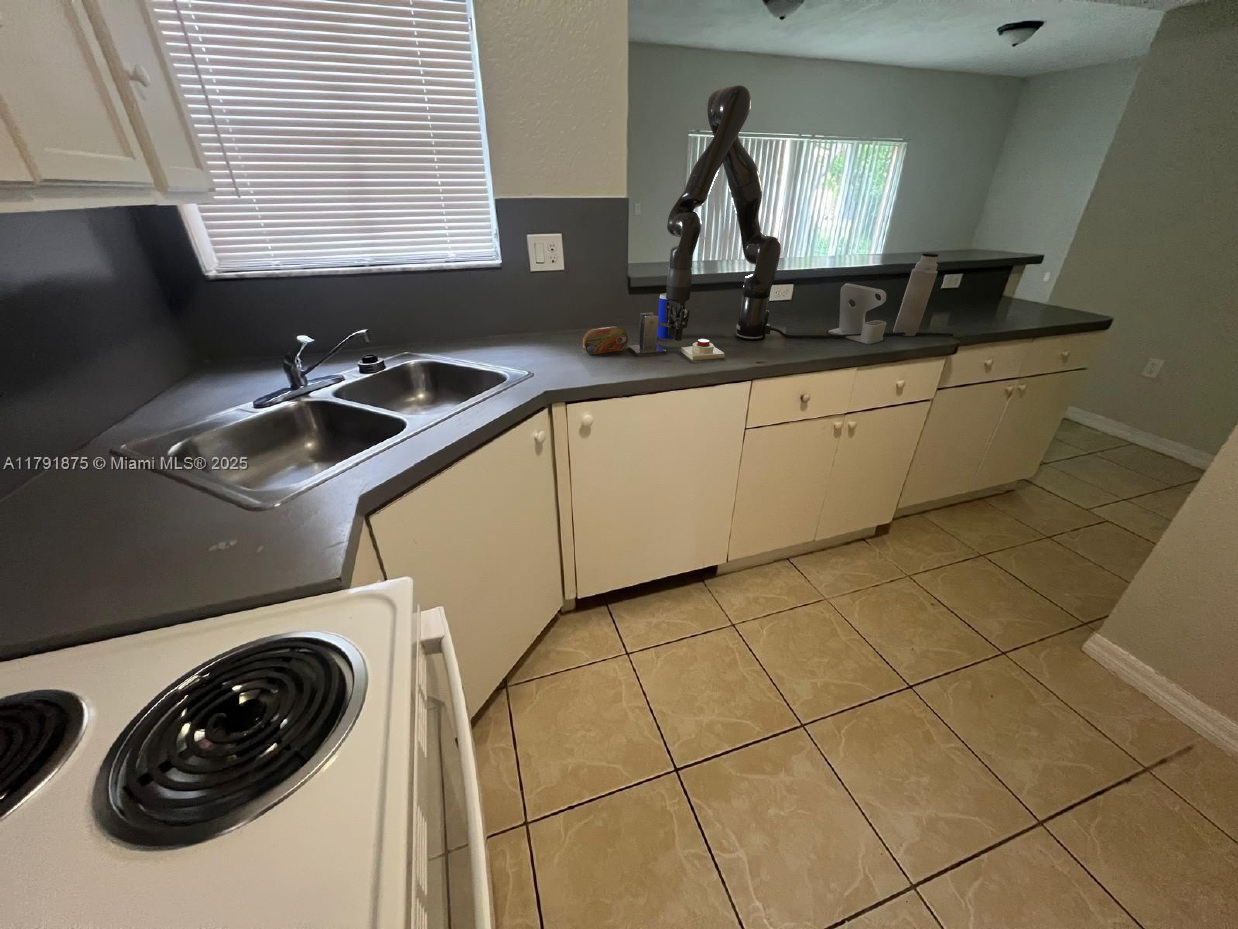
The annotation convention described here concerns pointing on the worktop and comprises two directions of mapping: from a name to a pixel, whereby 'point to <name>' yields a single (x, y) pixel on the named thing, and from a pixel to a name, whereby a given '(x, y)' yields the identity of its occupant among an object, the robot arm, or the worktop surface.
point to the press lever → (666, 324)
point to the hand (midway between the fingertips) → (674, 337)
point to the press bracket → (647, 335)
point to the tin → (605, 340)
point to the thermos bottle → (917, 295)
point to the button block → (702, 352)
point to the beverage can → (662, 317)
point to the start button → (703, 342)
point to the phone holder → (860, 314)
